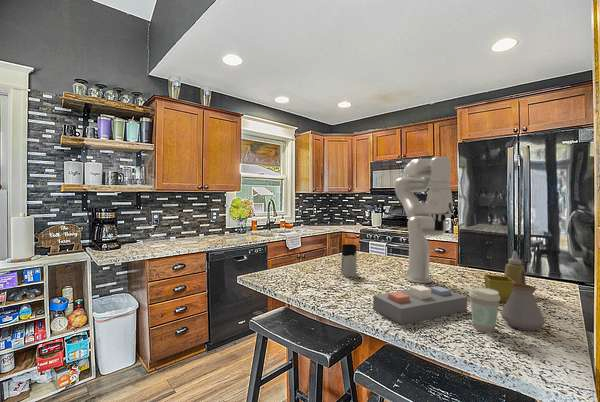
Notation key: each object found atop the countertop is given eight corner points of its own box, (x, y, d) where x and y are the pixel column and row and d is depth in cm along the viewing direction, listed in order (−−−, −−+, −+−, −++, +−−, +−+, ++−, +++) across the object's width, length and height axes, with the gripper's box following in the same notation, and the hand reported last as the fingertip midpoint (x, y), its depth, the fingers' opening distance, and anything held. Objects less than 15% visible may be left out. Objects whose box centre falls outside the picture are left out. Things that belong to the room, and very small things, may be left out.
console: (373, 308, 108) (373, 295, 108) (435, 298, 121) (435, 286, 121) (400, 324, 96) (400, 308, 96) (466, 310, 108) (467, 297, 108)
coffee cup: (462, 322, 98) (463, 286, 98) (486, 322, 98) (487, 286, 98) (479, 335, 89) (481, 295, 89) (506, 334, 90) (507, 294, 90)
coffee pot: (545, 337, 88) (547, 287, 88) (499, 326, 95) (500, 280, 95) (542, 315, 105) (543, 273, 105) (502, 307, 112) (504, 267, 112)
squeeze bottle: (529, 296, 126) (530, 253, 126) (508, 294, 128) (509, 252, 127) (519, 290, 134) (520, 250, 134) (499, 288, 136) (500, 249, 135)
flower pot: (507, 298, 123) (508, 276, 123) (515, 305, 115) (515, 282, 114) (483, 295, 126) (483, 274, 126) (488, 302, 117) (489, 279, 117)
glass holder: (358, 276, 153) (359, 246, 152) (330, 275, 153) (331, 246, 153) (355, 271, 161) (356, 244, 161) (329, 271, 162) (329, 243, 161)
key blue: (429, 300, 114) (430, 287, 114) (439, 299, 116) (439, 286, 116) (440, 305, 109) (441, 291, 109) (450, 303, 111) (450, 290, 111)
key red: (388, 307, 106) (388, 293, 105) (399, 305, 108) (399, 291, 107) (398, 312, 101) (398, 297, 101) (409, 310, 103) (409, 296, 103)
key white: (409, 300, 110) (410, 286, 109) (419, 298, 112) (420, 285, 112) (420, 304, 105) (420, 290, 105) (430, 303, 107) (431, 289, 107)
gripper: (419, 186, 130) (418, 228, 130) (449, 186, 116) (447, 233, 117) (432, 187, 133) (431, 228, 133) (462, 186, 119) (461, 232, 120)
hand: (438, 230), depth 125 cm, fingers closed
